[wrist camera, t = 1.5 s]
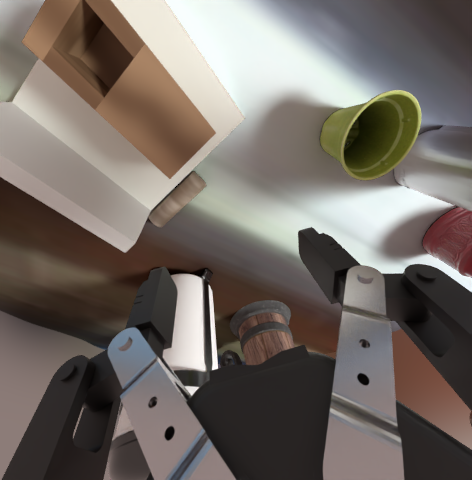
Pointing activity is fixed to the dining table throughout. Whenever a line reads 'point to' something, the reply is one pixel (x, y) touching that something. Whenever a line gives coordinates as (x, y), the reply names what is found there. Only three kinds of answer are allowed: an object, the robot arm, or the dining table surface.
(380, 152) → the plant pot
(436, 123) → the dining table surface
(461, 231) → the canister
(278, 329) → the tankard
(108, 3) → the wooden square-hole block
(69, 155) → the l-shaped bookend
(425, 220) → the dining table surface
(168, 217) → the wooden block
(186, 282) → the coffee press
